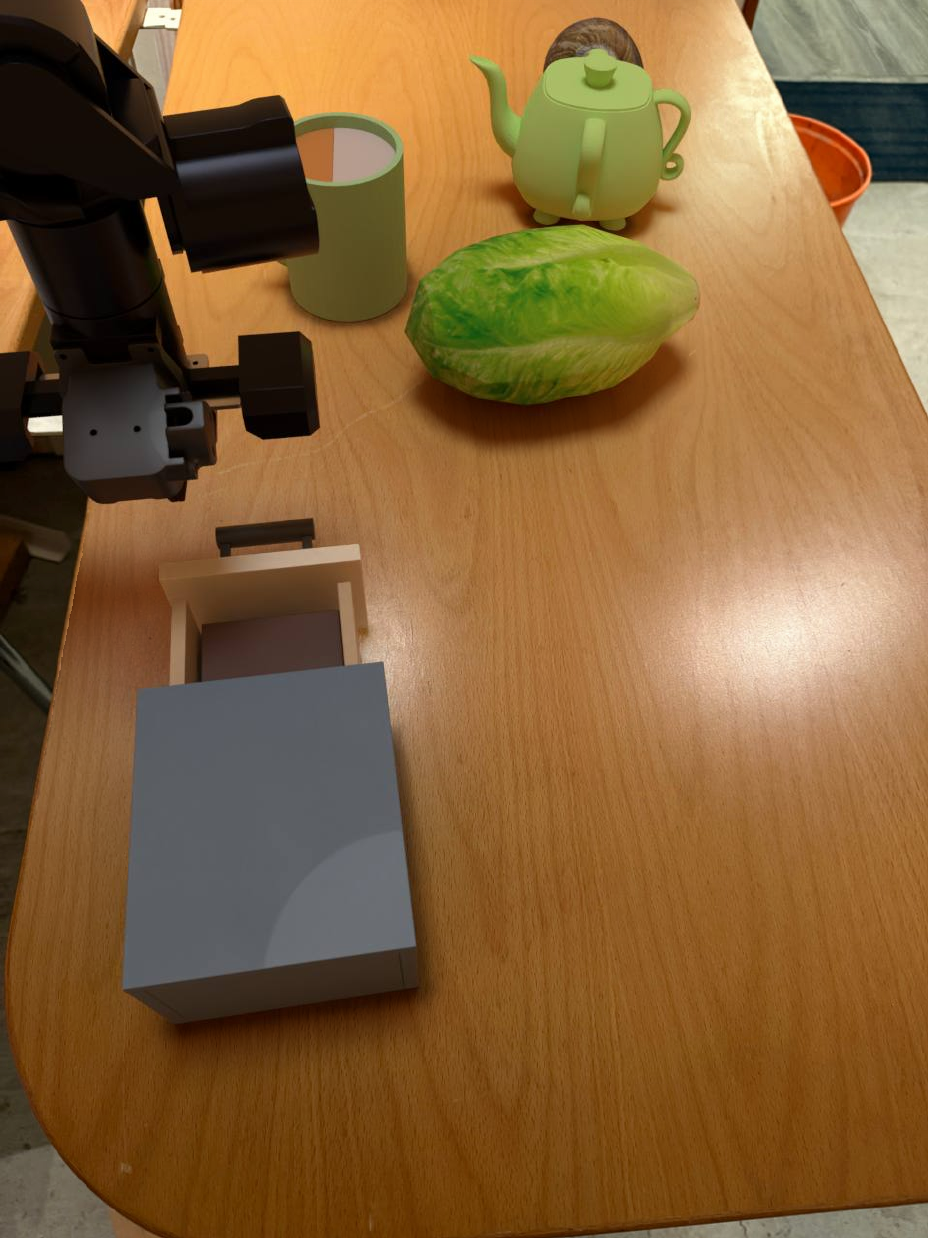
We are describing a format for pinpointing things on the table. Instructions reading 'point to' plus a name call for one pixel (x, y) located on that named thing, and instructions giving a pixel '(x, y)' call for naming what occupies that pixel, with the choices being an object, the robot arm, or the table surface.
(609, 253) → the lettuce
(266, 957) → the cabinet
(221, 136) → the robot arm
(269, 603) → the drawer
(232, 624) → the chocolate bar
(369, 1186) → the table surface
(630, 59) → the seashell
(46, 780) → the table surface
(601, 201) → the teapot
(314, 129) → the mug
